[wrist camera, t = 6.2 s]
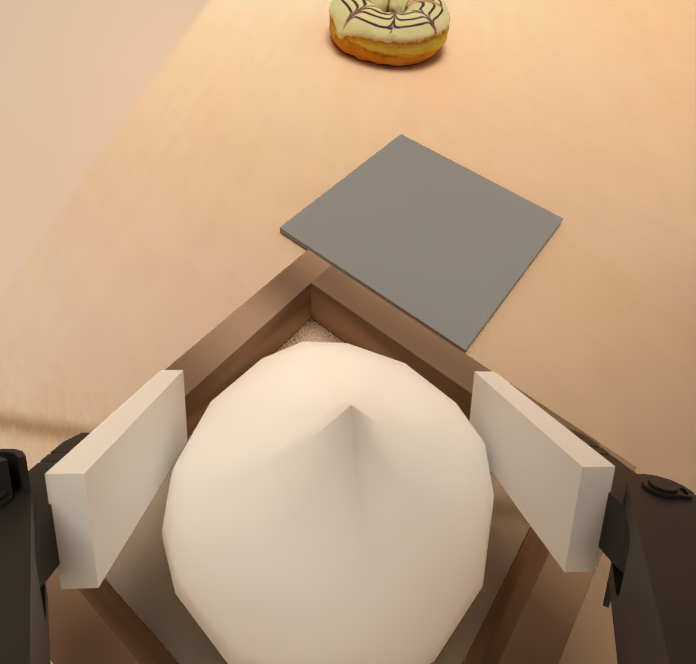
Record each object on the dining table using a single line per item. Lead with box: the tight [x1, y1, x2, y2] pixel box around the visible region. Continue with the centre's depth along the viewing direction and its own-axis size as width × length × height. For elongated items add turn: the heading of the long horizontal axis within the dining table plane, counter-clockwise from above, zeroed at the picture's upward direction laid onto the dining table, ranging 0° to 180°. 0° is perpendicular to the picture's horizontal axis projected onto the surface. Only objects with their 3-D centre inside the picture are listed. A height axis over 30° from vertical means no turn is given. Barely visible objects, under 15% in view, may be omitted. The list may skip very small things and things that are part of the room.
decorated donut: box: [329, 0, 450, 66], centre depth 38 cm, size 10×11×4 cm
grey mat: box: [280, 134, 563, 353], centre depth 27 cm, size 13×13×1 cm
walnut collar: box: [45, 250, 636, 664], centre depth 17 cm, size 17×17×3 cm
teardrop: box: [161, 341, 494, 664], centre depth 13 cm, size 11×11×12 cm
